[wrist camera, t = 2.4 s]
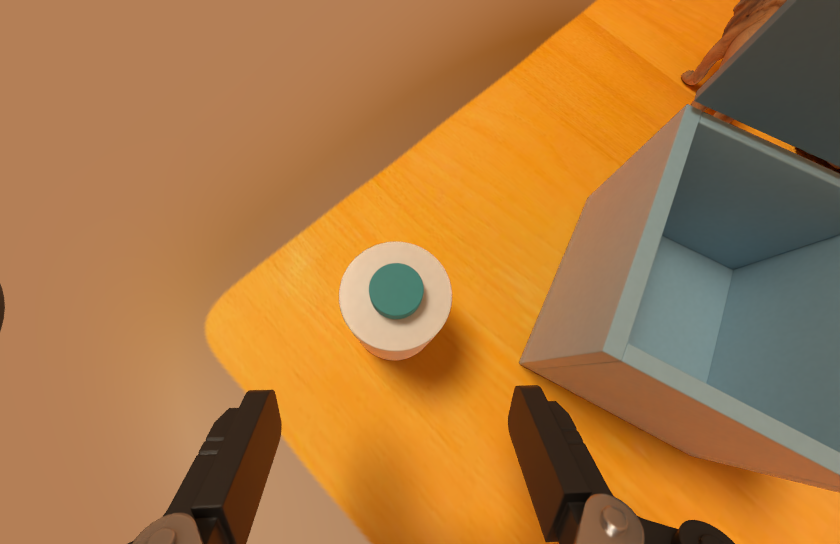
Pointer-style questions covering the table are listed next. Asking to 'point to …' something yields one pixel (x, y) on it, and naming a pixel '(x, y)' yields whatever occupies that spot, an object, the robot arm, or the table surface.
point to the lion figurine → (733, 40)
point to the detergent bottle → (395, 299)
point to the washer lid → (786, 79)
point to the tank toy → (829, 163)
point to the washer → (707, 301)
